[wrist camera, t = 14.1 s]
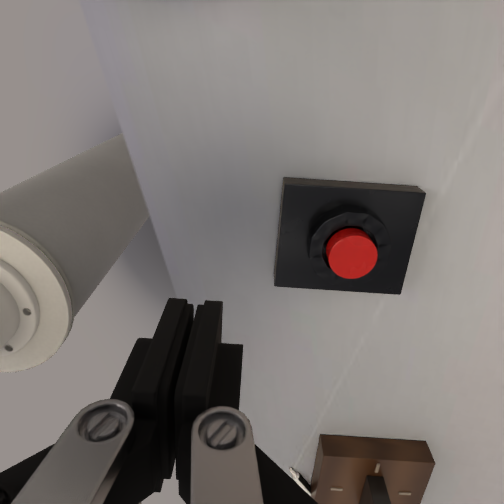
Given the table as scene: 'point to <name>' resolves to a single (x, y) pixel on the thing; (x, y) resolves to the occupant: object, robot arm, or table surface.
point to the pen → (301, 481)
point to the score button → (351, 253)
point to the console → (370, 468)
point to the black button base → (341, 217)
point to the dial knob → (375, 491)
